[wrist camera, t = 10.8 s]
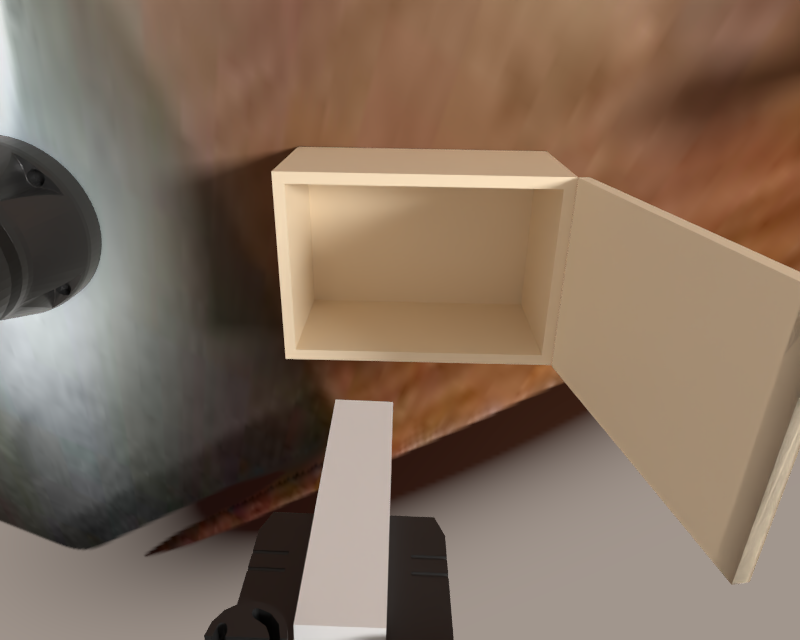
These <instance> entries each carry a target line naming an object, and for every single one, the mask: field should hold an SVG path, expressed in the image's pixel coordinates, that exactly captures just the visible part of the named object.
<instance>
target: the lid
mask: <svg viewBox="0 0 800 640" xmlns="http://www.w3.org/2000/svg"><path fill="white" fill-rule="evenodd" d="M552 367H553V368H554V369H555V371H556V372H557V373H558V374H559V375H560V377H561V378H562V379H563V380H564V382H565V383H566V384H567V385H568V386H569V388H570V389H571V390H572V391H573V392H574V394H575V395H576V396H577V397H578V399H579V400H580V401H581V402H582V403H583V405H584V406H585V407H586V408H587V409H588V411H589V412H590V413H591V414H592V416H593V417H594V418H595V419H596V420H597V422H598V423H599V424H600V425H601V427H602V428H603V429H604V430H605V431H606V433H607V434H608V435H609V436H610V437H611V439H612V440H613V441H614V442H615V444H616V445H617V446H618V447H619V448H620V450H621V451H622V452H623V453H624V454H625V456H626V457H627V458H628V459H629V461H630V462H631V463H632V464H633V465H634V467H635V468H636V469H637V470H638V471H639V473H640V474H641V475H642V476H643V478H644V479H645V480H646V481H647V482H648V484H649V485H650V486H651V487H652V488H653V490H654V491H655V492H656V493H657V494H658V496H659V497H660V498H661V499H662V501H663V502H664V503H665V504H666V505H667V507H668V508H669V509H670V510H671V512H672V513H673V514H674V515H675V516H676V517H677V519H678V520H679V521H680V523H681V524H682V525H683V526H684V527H685V529H686V530H687V531H688V532H689V533H690V535H691V536H692V537H693V538H694V540H695V541H696V542H697V543H698V544H699V545H700V547H701V548H702V549H703V550H704V552H705V553H706V554H707V555H708V557H709V558H710V559H711V560H712V561H713V563H714V564H715V565H716V566H717V567H718V569H719V570H720V571H721V572H722V574H723V575H724V576H725V577H726V578H727V580H728V581H729V582H730V583H731V584H732V585H733V584H740V583H747V582H750V579H751V577H752V574H753V571H754V569H755V566H756V563H757V561H758V558H759V555H760V553H761V550H762V547H763V545H764V542H765V539H766V537H767V534H768V531H769V529H770V526H771V523H772V521H773V518H774V515H775V513H776V510H777V507H778V505H779V502H780V499H781V497H782V494H783V491H784V489H785V486H786V483H787V481H788V478H789V476H790V473H791V470H792V467H793V465H794V462H795V459H796V457H797V454H798V452H799V449H800V272H799V271H796V270H794V269H792V268H790V267H787V266H785V265H783V264H781V263H779V262H776V261H774V260H772V259H770V258H767V257H765V256H763V255H761V254H759V253H756V252H754V251H752V250H750V249H748V248H745V247H743V246H741V245H739V244H736V243H734V242H732V241H730V240H728V239H725V238H723V237H721V236H719V235H716V234H714V233H712V232H710V231H708V230H705V229H703V228H701V227H699V226H697V225H694V224H692V223H690V222H688V221H685V220H683V219H681V218H679V217H677V216H674V215H672V214H670V213H668V212H665V211H663V210H661V209H659V208H657V207H654V206H652V205H650V204H648V203H646V202H643V201H641V200H639V199H637V198H634V197H632V196H630V195H628V194H626V193H623V192H621V191H619V190H617V189H614V188H612V187H610V186H608V185H606V184H603V183H601V182H599V181H597V180H595V179H592V178H590V177H587V178H578V184H577V191H576V198H575V205H574V212H573V219H572V226H571V233H570V240H569V247H568V254H567V261H566V268H565V275H564V282H563V289H562V296H561V303H560V310H559V317H558V324H557V331H556V338H555V345H554V352H553V359H552Z"/></svg>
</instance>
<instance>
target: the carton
mask: <svg viewBox="0 0 800 640" xmlns="http://www.w3.org/2000/svg"><path fill="white" fill-rule="evenodd" d="M271 174H272V187H273V200H274V213H275V226H276V239H277V252H278V265H279V278H280V291H281V304H282V317H283V330H284V343H285V356H286V359H315V360H358V361H401V362H443V363H486V364H529V365H551V363H552V356H553V349H554V342H555V335H556V328H557V321H558V314H559V307H560V300H561V293H562V286H563V279H564V272H565V265H566V258H567V251H568V244H569V237H570V230H571V223H572V216H573V209H574V202H575V195H576V188H577V181H578V177H577V176H576V175H575V174H573V173H572V172H571V171H570V170H569V169H567V168H566V167H565V166H564V165H562V164H561V163H560V162H559V161H558V160H556V159H555V158H554V157H553V156H552V155H550V154H549V153H548V152H547V151H500V150H448V149H395V148H343V147H297V148H296V149H295V150H294V151H293V152H292V153H291V154H290V155H289V156H287V157H286V158H285V159H284V160H283V161H282V162H281V163H280V164H279V165H278V166H277V167H276V168H274V169H273V170H272V171H271Z"/></svg>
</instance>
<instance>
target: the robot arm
mask: <svg viewBox="0 0 800 640" xmlns="http://www.w3.org/2000/svg"><path fill="white" fill-rule="evenodd" d="M100 255H101V231H100V226H99V222H98V219H97V215H96V213H95V210H94V208H93V206H92V203H91V201H90V200H89V198H88V196H87V194H86V193H85V191H84V190H83V188H82V187H81V185H80V184H79V183H78V182H77V180H76V179H75V178H74V177H73V176H72V175H71V173H70V172H69V171H68V170H67V169H66V168H64V167H63V166H62V165H61V164H60V163H59V162H58V161H56V160H55V159H54V158H52V157H51V156H50V155H48V154H47V153H45V152H44V151H42V150H40V149H38V148H37V147H35V146H33V145H31V144H28V143H26V142H24V141H21V140H18V139H15V138H11V137H7V136H2V135H0V320H5V319H11V318H16V317H22V316H27V315H32V314H38V313H42V312H45V311H48V310H51V309H53V308H56V307H58V306H60V305H62V304H63V303H65V302H66V301H68V300H69V299H71V298H72V297H73V296H75V295H76V294H77V293H79V292H80V291H81V290H82V289H83V288H84V287H85V286H86V285H87V284H88V283H89V282H90V280H91V279H92V277H93V275H94V274H95V272H96V269H97V267H98V264H99V260H100ZM392 418H393V402H377V401H356V400H336V401H335V406H334V412H333V417H332V422H331V428H330V433H329V438H328V444H327V449H326V454H325V460H324V465H323V470H322V476H321V481H320V486H319V492H318V497H317V503H316V508H315V513H314V514H304V513H282V512H274V513H273V514H272V515H271V516H270V517H269V519H268V520H267V521H266V522H265V523H264V524H263V526H262V527H261V528H260V529H259V532H258V536H257V539H256V542H255V546H254V549H253V554H252V556H251V559H250V563H249V566H248V571H247V573H246V577H245V580H244V583H243V587H242V590H241V593H240V597H239V600H238V604H237V605H235V606H233V607H231V608H228V609H226V610H224V611H223V612H222V613H221V614H220V615H219V616H218V617H217V618H216V619H214V620H213V621H212V623H211V624H210V626H209V628H208V630H207V632H206V633H205V635H204V637H205V640H453V627H452V616H451V603H450V591H449V579H448V568H447V560H446V559H447V558H446V544H445V535H444V534H443V532H442V530H441V528H440V527H439V525H438V523H437V522H436V520H435V518H432V517H408V516H390V487H391V453H392Z"/></svg>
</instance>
